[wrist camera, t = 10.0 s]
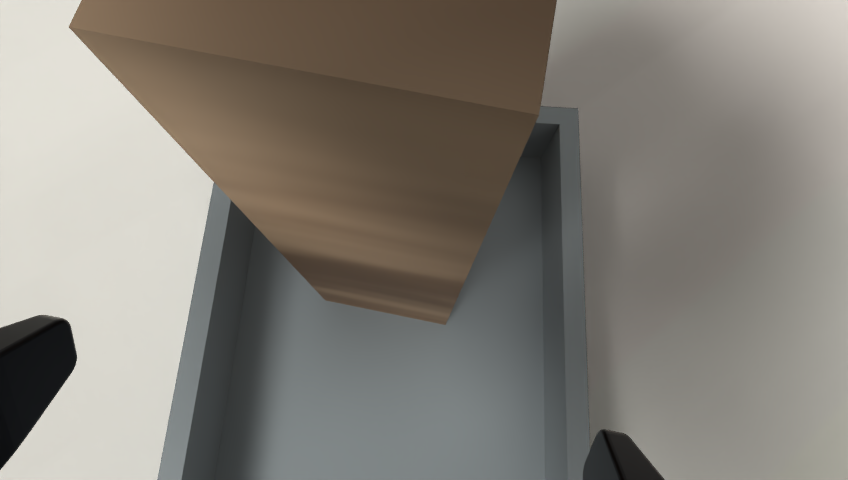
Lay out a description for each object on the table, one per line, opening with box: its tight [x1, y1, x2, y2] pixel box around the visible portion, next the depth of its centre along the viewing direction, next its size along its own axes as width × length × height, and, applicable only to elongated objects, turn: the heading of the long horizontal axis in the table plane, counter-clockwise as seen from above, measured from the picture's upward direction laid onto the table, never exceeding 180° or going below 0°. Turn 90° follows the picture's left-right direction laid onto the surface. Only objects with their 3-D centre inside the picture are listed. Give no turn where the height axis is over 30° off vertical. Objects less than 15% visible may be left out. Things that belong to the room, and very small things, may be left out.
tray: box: [157, 106, 590, 480], centre depth 15 cm, size 17×11×3 cm, turn 177°
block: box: [69, 0, 557, 325], centre depth 11 cm, size 4×4×13 cm
